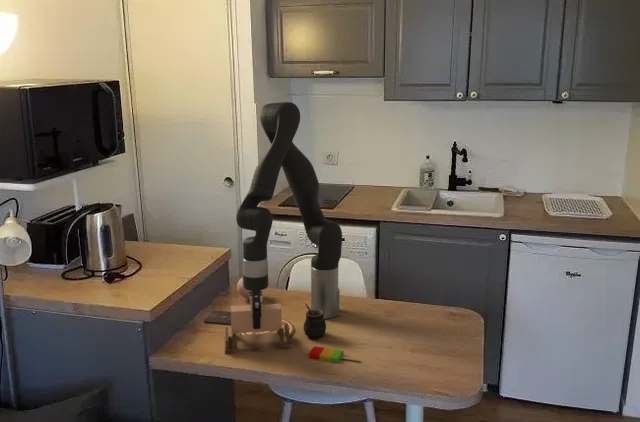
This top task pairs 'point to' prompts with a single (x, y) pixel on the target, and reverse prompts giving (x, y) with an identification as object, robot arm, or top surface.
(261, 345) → the rack
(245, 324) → the tan rectangular block
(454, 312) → the top surface
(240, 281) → the decorative fruit
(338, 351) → the popsicle
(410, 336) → the top surface
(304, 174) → the robot arm
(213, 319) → the chocolate bar
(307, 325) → the mate gourd
